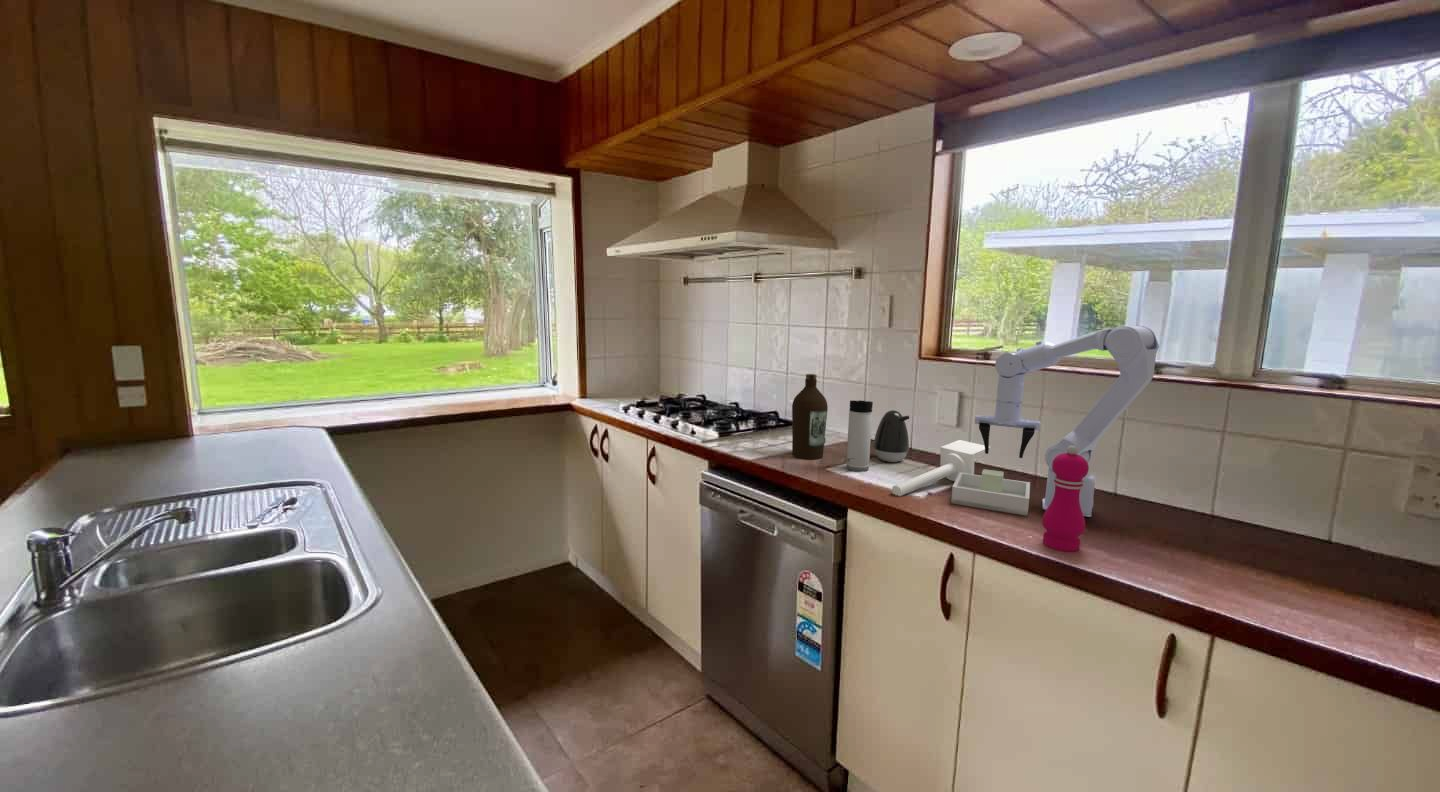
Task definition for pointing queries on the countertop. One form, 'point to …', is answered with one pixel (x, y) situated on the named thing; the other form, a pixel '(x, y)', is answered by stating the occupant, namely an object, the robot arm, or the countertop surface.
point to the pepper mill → (1066, 503)
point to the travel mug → (859, 435)
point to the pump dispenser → (892, 437)
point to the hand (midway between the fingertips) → (1003, 455)
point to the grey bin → (991, 495)
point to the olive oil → (809, 421)
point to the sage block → (992, 481)
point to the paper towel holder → (945, 466)
